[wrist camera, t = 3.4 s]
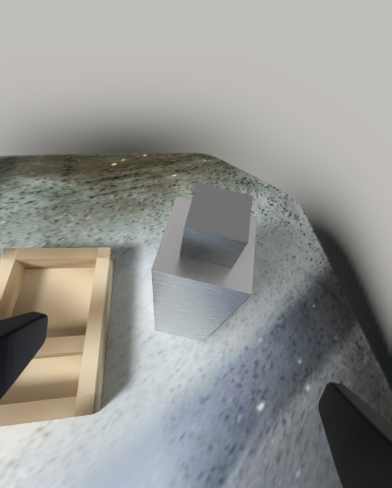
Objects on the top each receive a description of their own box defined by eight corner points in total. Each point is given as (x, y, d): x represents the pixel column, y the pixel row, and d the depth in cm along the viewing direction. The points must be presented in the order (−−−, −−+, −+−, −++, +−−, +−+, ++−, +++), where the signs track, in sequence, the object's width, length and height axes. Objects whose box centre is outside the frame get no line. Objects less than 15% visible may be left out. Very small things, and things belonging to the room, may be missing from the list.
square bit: (202, 341, 18) (274, 273, 7) (155, 330, 18) (149, 242, 7) (210, 295, 21) (274, 185, 9) (168, 285, 21) (179, 162, 9)
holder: (100, 410, 15) (91, 414, 13) (-38, 428, 14) (-69, 435, 12) (114, 259, 21) (110, 247, 19) (19, 261, 20) (4, 248, 18)
